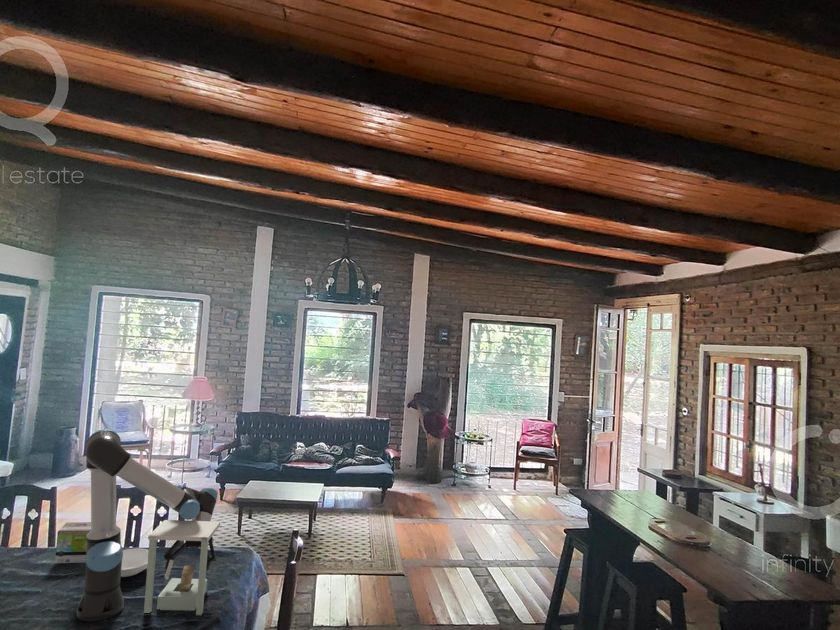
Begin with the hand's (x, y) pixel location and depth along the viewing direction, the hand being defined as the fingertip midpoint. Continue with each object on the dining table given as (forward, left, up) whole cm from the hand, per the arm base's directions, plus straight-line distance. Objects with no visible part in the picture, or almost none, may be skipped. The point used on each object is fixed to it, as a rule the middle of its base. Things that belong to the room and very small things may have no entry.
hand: (183, 578), depth 202 cm
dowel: (0, +1, -8) cm, 8 cm away
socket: (0, 0, -9) cm, 9 cm away
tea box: (-57, +33, -9) cm, 67 cm away
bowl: (-30, +21, -9) cm, 38 cm away
